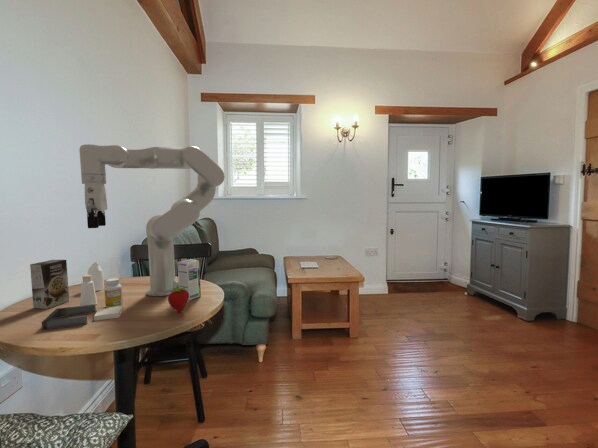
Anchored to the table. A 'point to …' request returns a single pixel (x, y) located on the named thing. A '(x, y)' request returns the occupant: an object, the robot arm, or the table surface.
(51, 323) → the frame
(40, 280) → the coffee box
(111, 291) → the supplement bottle
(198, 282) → the syrup box
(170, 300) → the strawberry
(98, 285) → the white tall lumpy piece
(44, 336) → the table surface
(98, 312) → the tile
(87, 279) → the pepper shaker
